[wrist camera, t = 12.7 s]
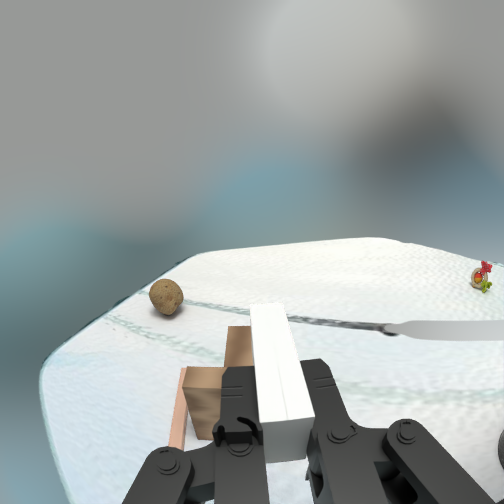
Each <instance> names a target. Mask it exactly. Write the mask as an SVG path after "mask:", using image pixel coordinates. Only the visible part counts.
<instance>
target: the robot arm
mask: <svg viewBox="0 0 504 504" xmlns="http://www.w3.org/2000/svg"><path fill="white" fill-rule="evenodd" d="M250 321H251V340H252V357H253V366H236V367H227V369H226V370H225V372H224V374H223V375H222V383H221V404H220V419H219V420H218V421H217V422H216V423H215V424H214V427H213V430H212V435H213V438H214V441H213V442H212V443H210V444H209V445H207V446H205V447H202V448H199V449H195V450H191V451H186V452H184V451H183V450H181V449H178V448H176V447H169V446H166V447H160V448H157V449H156V450H154V451H152V452H151V453H150V454H149V455H148V457H147V458H146V460H145V462H144V464H143V465H142V467H141V469H140V471H139V473H138V475H137V477H136V478H135V480H134V482H133V484H132V486H131V488H130V489H129V491H128V493H127V495H126V497H125V499H124V501H123V502H122V504H205V501H209V500H213V499H214V504H270V502H269V493H268V483H267V474H266V464H265V463H277V462H286V461H294V460H302V459H306V455H307V457H308V461H309V466H308V469H307V473H306V479H305V481H306V480H309V481H310V486H311V491H312V496H313V501H314V504H496V503H495V502H494V501H493V500H492V499H491V498H490V497H489V495H488V494H487V493H486V492H485V491H484V490H483V489H482V488H481V487H480V486H479V485H478V484H477V483H476V482H475V481H474V479H473V478H472V477H471V476H470V475H469V474H468V473H467V472H466V471H465V470H464V469H463V468H462V467H461V466H460V465H459V464H458V463H457V461H456V460H455V459H454V458H453V457H452V456H451V455H450V454H449V453H448V452H447V451H446V450H445V449H444V448H443V447H442V446H441V445H440V443H439V442H438V441H437V440H436V439H435V438H434V437H433V436H432V435H431V434H430V433H429V432H428V431H427V430H426V429H425V428H424V427H423V426H422V425H421V424H420V423H419V422H417V421H415V420H412V419H401V420H398V421H395V422H394V423H393V424H392V425H391V426H390V427H389V428H365V427H362V426H359V425H357V424H356V423H355V422H353V421H352V420H351V419H350V417H349V416H348V414H347V411H346V408H345V406H344V403H343V401H342V398H341V396H340V393H339V390H338V388H337V386H336V383H335V380H334V378H333V375H332V373H331V370H330V368H329V366H328V365H327V364H326V363H325V362H324V361H323V360H321V359H312V360H303V361H299V357H298V354H297V351H296V347H295V344H294V340H293V337H292V333H291V330H290V326H289V323H288V320H287V316H286V313H285V309H284V306H283V303H282V302H279V303H264V304H250ZM499 457H500V461H501V464H502V466H503V468H504V431H503V432H502V434H501V437H500V440H499Z"/></svg>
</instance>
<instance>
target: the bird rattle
mask: <svg viewBox="0 0 504 504" xmlns="http://www.w3.org/2000/svg"><path fill="white" fill-rule="evenodd" d="M481 264H482V268H477V269H475V270H474V271H473V273H472V276H471V280H472V283H473V287H477V288H482V287H483V290H482V292H483V293H484V292H485V291H486V288H488V289H489V288H490V286H492V283H491V282H487V280H488V275H487V272H489V273H490V272H491V268H492V265H490V264H488V263H487V262H484V261H481ZM478 272H480V273H478ZM481 273H482V274H481ZM482 275H483V276H484V277H483V276H482ZM483 278H484V280H483ZM482 280H483V281H482ZM480 282H482V283H481V284H478V283H480Z"/></svg>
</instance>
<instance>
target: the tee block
mask: <svg viewBox="0 0 504 504" xmlns="http://www.w3.org/2000/svg"><path fill="white" fill-rule="evenodd" d="M236 366H253V357H252V340H251V326H228V334H227V343H226V352H225V361H224V367H189V366H187V369H186V373H185V377H184V381H183V384H182V389H183V393H184V396H185V400H186V403H187V406H188V410H189V413H190V416H191V419H192V423H193V426H194V429H195V432H196V435H197V438H198V439H199V440H214V438H213V435H212V430H213V427H214V424H215V423H216V422H217V421H218V420H219V419H220V404H221V383H222V375H223V374H224V372H225V370H226V369H227V367H236Z"/></svg>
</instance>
